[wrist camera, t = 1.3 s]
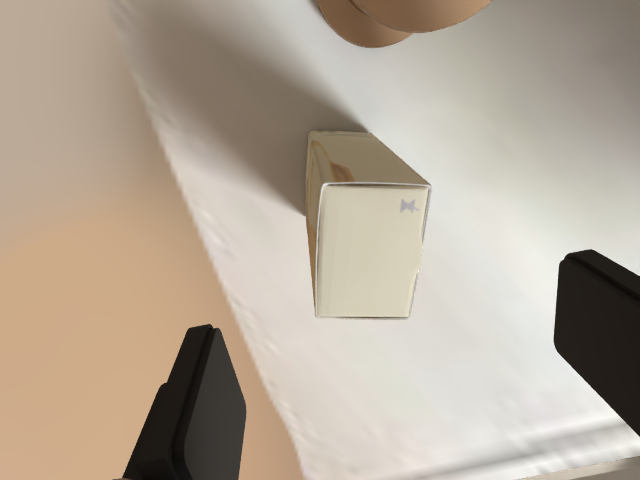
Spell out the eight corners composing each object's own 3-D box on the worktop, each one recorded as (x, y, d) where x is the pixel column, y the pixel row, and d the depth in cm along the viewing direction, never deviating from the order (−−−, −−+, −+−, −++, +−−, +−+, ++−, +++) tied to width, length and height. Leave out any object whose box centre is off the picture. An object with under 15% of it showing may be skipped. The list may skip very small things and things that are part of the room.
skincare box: (307, 129, 25) (318, 172, 14) (373, 131, 26) (437, 176, 14) (304, 222, 28) (311, 323, 16) (364, 223, 28) (413, 323, 17)
